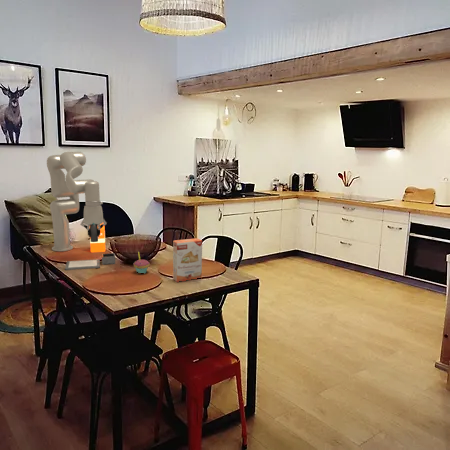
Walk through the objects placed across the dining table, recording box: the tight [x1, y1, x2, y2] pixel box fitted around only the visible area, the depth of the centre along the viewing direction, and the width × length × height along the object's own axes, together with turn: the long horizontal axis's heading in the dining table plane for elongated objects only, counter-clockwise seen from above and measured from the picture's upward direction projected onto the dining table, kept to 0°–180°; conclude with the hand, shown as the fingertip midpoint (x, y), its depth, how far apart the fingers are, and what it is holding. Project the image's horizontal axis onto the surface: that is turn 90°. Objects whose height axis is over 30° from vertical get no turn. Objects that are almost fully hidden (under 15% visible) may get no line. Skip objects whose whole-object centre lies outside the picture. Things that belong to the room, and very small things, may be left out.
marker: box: [89, 223, 98, 242], centre depth 241 cm, size 4×4×12 cm
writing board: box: [64, 258, 101, 271], centre depth 246 cm, size 14×18×1 cm
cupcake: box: [132, 250, 151, 274], centre depth 234 cm, size 9×8×12 cm
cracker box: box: [172, 237, 203, 283], centre depth 224 cm, size 14×6×21 cm, turn 117°
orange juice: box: [89, 223, 106, 253], centre depth 274 cm, size 8×9×20 cm
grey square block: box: [101, 252, 116, 266], centre depth 251 cm, size 7×7×4 cm
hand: (94, 236), depth 241 cm, fingers closed on marker, 3 cm apart
